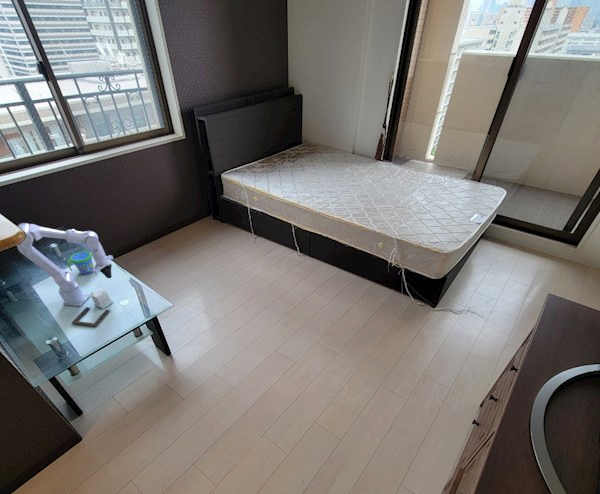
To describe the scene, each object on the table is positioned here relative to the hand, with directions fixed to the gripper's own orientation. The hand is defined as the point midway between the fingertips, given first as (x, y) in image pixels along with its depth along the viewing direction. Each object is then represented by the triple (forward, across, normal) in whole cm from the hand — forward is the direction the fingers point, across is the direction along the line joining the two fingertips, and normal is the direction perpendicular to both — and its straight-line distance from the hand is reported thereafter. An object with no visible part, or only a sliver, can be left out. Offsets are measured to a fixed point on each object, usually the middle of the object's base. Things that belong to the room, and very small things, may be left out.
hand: (109, 277), depth 180 cm
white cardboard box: (+9, -11, 0) cm, 14 cm away
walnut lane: (+9, -21, 0) cm, 23 cm away
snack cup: (+9, +15, +27) cm, 32 cm away
